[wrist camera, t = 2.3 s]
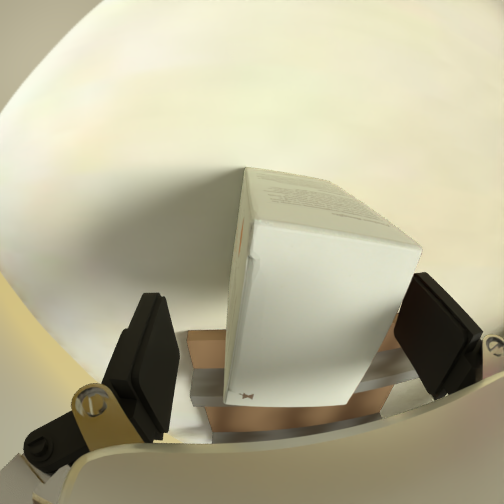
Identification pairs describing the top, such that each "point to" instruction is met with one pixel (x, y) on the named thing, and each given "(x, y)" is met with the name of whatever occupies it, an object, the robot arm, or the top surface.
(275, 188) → the small box
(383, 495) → the robot arm
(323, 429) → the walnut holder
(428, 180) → the top surface
